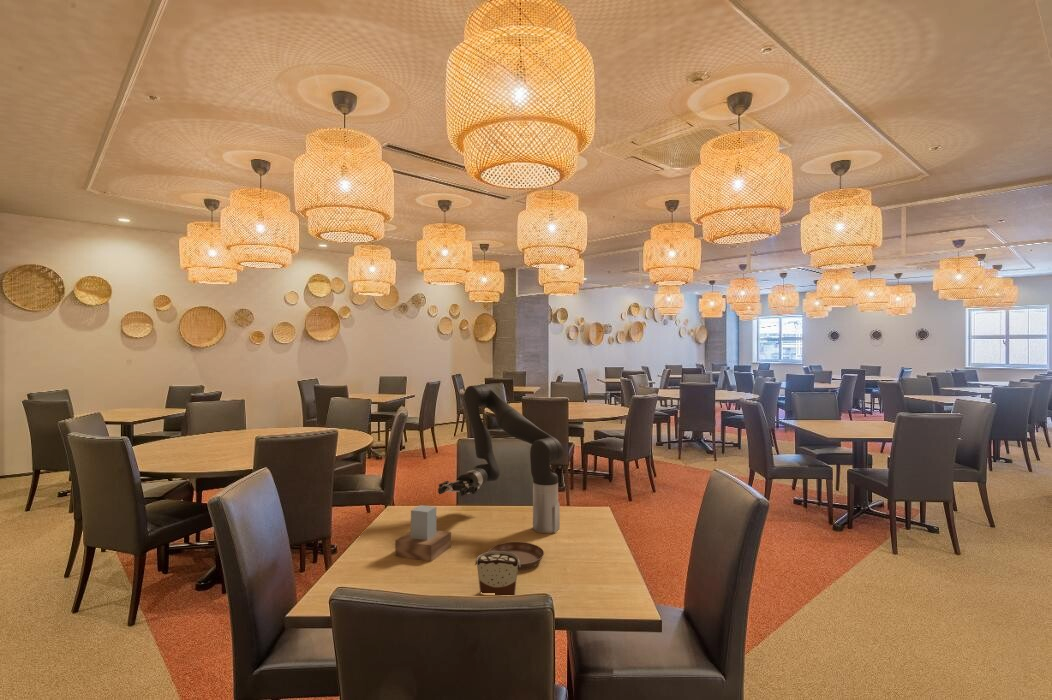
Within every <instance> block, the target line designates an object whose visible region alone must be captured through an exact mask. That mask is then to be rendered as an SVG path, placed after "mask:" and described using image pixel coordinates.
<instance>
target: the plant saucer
mask: <svg viewBox="0 0 1052 700" xmlns="http://www.w3.org/2000/svg"><path fill="white" fill-rule="evenodd" d="M491 551H506V552H510V553H513V554H515V555H517V557H518V559H519V561H520V566H519V563H518V571H523V570H527V569H531V567H532V568H533V567H535V566H537V565H538V564H539V563H540V562H541V561H542V559H543V557H544V556H545V551H544V549H543V547H540V546H539V545H537V544H534V543H530V542H523V541H509V542H503V543H499V544H496V545H493V546H492V547H491V548H489V549H488V551H487V552H491Z"/></svg>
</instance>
